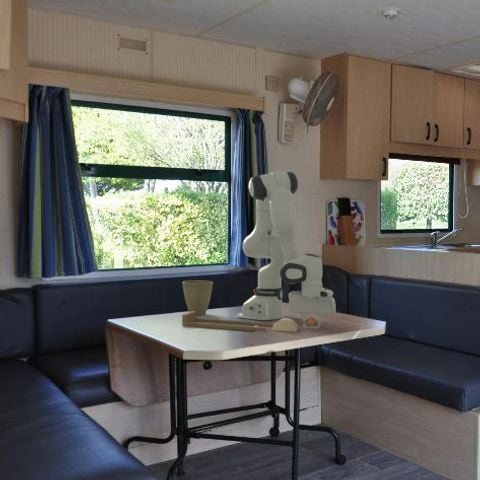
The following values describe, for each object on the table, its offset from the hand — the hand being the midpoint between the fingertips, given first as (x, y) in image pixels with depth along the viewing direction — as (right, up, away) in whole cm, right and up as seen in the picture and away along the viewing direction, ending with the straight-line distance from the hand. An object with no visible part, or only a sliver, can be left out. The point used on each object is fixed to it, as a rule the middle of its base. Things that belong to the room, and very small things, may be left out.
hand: (311, 323), depth 254 cm
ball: (0, -1, 0) cm, 1 cm away
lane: (-31, -7, +1) cm, 31 cm away
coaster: (0, -2, 0) cm, 2 cm away
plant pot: (-51, -1, +34) cm, 62 cm away
